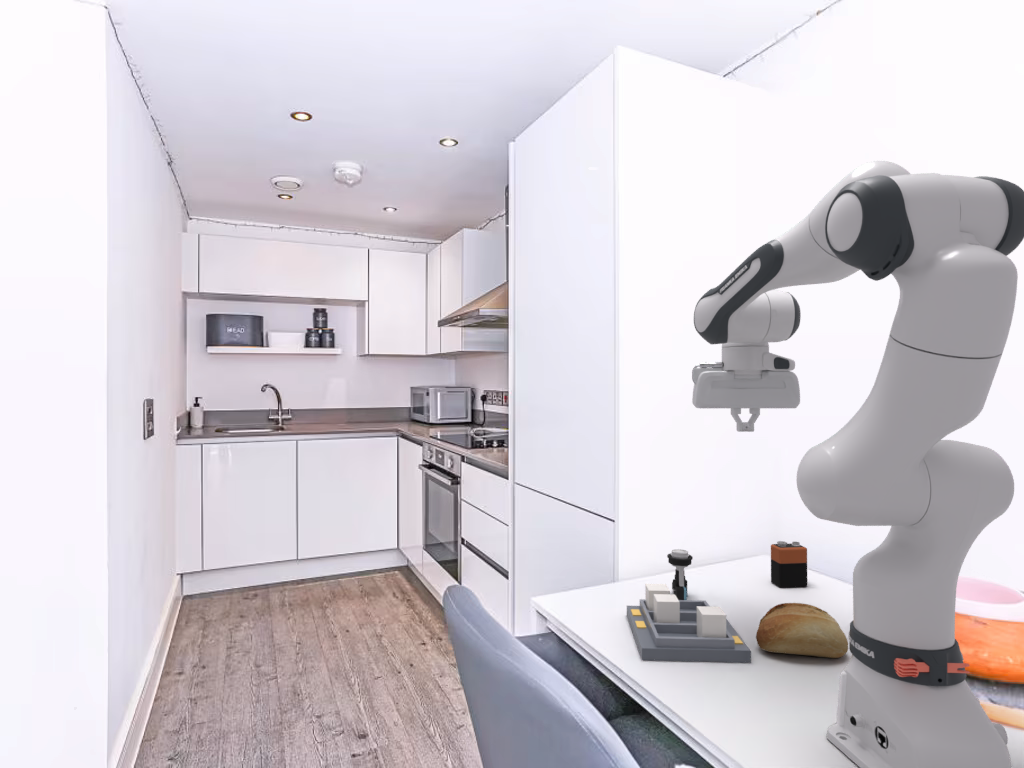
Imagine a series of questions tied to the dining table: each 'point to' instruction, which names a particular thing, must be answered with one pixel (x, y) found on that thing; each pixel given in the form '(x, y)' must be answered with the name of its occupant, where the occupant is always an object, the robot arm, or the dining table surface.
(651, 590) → the tab
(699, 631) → the tab
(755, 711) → the dining table surface
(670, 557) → the push button
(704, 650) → the switch bank
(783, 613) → the bread roll
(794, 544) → the battery
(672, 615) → the tab
